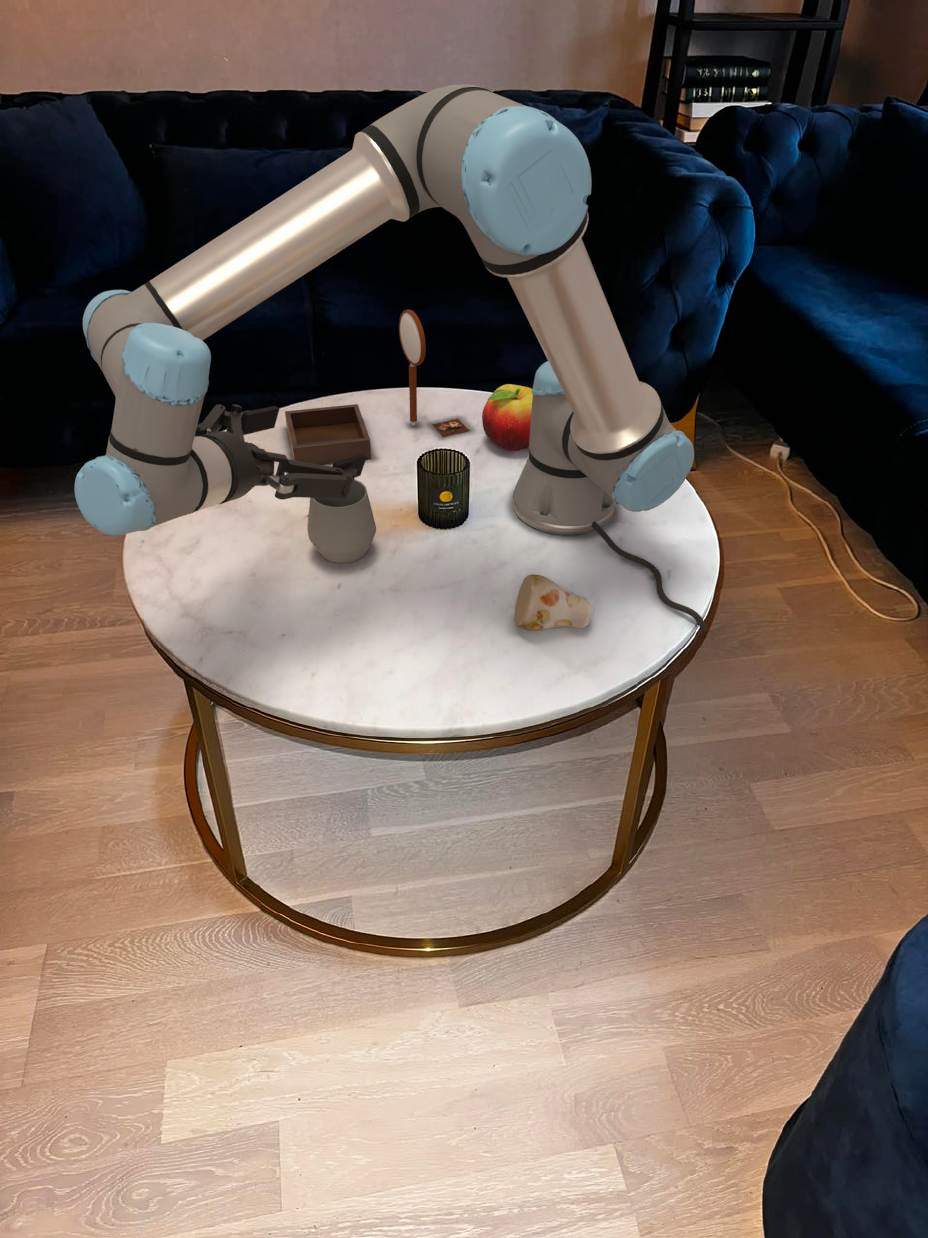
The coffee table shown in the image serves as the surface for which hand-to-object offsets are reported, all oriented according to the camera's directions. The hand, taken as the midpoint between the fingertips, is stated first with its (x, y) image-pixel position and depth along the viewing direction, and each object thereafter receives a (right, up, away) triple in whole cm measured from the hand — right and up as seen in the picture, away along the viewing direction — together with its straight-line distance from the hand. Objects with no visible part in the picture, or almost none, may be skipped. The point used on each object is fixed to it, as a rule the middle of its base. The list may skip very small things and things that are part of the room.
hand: (317, 440), depth 119 cm
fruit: (+27, +7, +38) cm, 47 cm away
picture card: (+16, +10, +41) cm, 46 cm away
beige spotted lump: (+30, -23, +3) cm, 38 cm away
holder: (-4, +6, +36) cm, 37 cm away
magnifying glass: (+10, +10, +42) cm, 44 cm away
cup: (+2, -13, +14) cm, 19 cm away
